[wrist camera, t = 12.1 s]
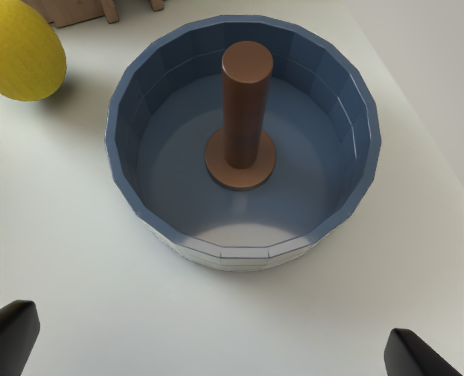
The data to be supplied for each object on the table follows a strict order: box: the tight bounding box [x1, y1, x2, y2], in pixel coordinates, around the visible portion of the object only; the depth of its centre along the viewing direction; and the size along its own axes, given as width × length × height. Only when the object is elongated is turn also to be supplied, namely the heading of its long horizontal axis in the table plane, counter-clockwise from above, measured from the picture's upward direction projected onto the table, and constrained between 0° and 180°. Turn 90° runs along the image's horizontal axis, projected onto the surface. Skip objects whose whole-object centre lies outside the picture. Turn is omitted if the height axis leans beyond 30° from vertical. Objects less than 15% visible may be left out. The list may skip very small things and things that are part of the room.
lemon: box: [0, 0, 67, 101], centre depth 23 cm, size 6×6×8 cm
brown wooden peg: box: [205, 41, 276, 191], centre depth 20 cm, size 5×5×10 cm
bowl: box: [104, 15, 381, 272], centre depth 23 cm, size 15×15×6 cm
